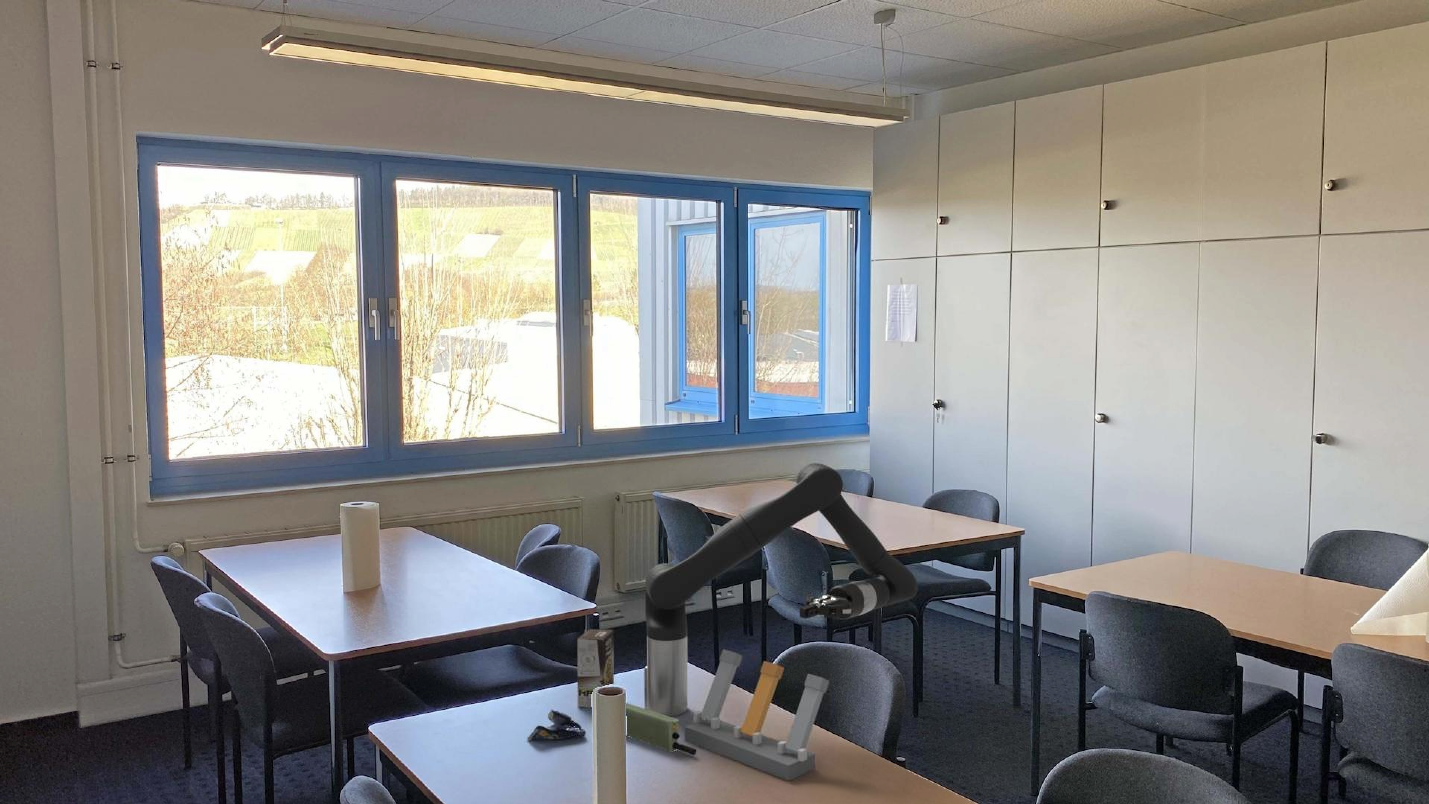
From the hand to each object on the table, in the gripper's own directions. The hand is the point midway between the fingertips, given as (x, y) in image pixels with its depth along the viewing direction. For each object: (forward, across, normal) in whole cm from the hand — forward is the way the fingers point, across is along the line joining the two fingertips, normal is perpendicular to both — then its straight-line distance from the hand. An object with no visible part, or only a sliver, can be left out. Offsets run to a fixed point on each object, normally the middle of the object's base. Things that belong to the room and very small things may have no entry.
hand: (802, 613), depth 226 cm
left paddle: (+17, -12, +23) cm, 31 cm away
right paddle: (+17, +12, +23) cm, 31 cm away
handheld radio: (+27, -19, +26) cm, 42 cm away
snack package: (+38, -36, +27) cm, 59 cm away
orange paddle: (+17, 0, +23) cm, 29 cm away
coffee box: (+19, -47, +26) cm, 57 cm away
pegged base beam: (+17, 0, +26) cm, 31 cm away
